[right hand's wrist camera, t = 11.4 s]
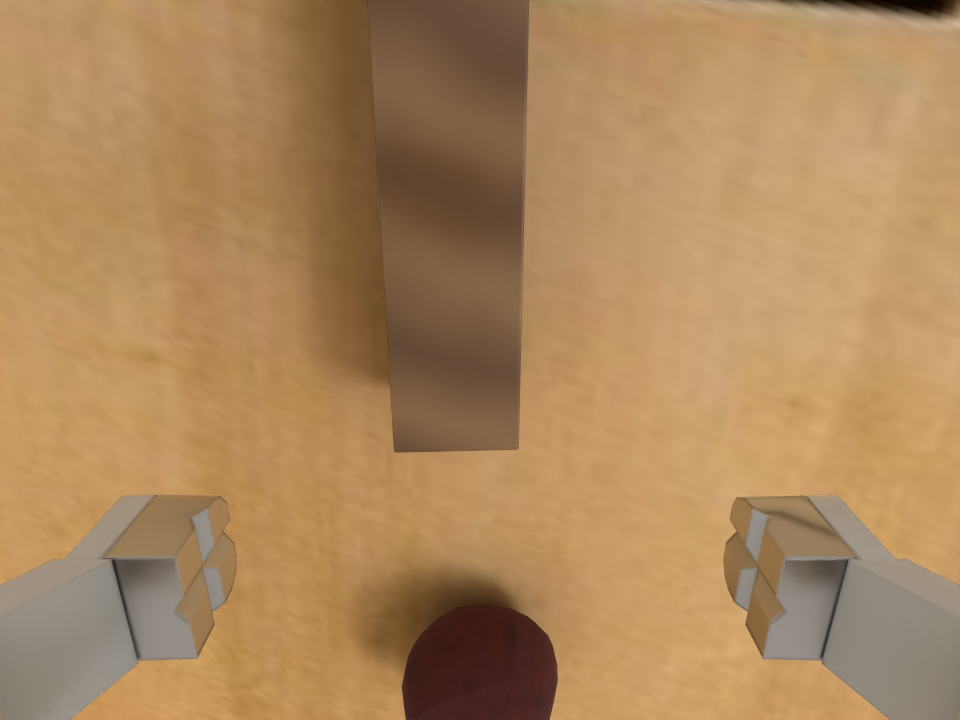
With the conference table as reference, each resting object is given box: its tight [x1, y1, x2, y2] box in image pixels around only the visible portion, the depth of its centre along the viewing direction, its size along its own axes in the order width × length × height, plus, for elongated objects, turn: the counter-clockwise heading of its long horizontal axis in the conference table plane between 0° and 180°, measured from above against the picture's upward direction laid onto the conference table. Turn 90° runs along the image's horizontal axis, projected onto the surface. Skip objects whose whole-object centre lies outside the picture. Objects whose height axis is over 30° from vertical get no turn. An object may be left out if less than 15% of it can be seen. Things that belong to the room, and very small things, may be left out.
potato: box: [402, 605, 558, 720], centre depth 32 cm, size 7×8×7 cm
